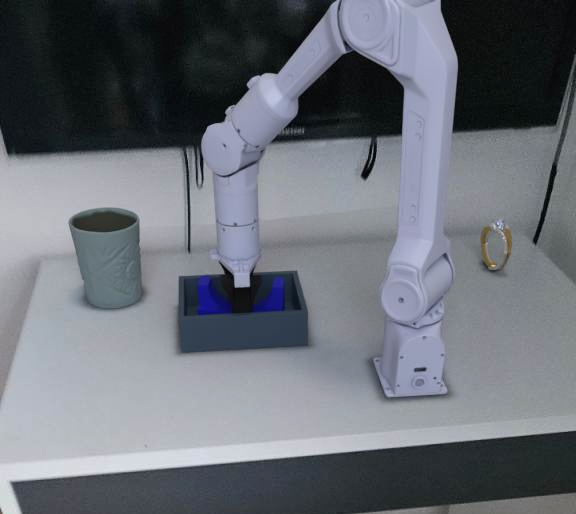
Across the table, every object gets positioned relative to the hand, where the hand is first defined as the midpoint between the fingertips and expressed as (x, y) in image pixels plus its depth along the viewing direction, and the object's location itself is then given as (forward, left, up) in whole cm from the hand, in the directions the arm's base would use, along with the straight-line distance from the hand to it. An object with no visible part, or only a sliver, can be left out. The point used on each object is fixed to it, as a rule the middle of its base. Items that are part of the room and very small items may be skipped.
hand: (241, 313), depth 110 cm
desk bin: (0, 0, -2) cm, 2 cm away
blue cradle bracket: (0, 0, -2) cm, 2 cm away
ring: (+15, -42, -2) cm, 45 cm away
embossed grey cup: (+12, +19, -2) cm, 23 cm away
